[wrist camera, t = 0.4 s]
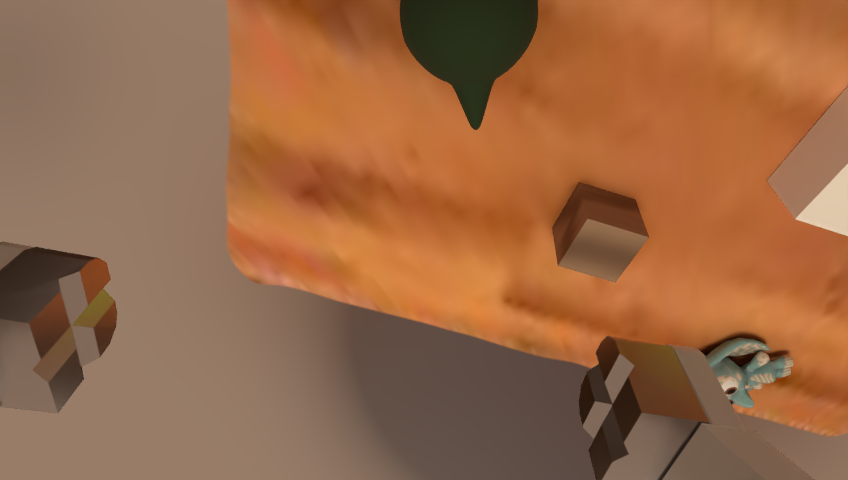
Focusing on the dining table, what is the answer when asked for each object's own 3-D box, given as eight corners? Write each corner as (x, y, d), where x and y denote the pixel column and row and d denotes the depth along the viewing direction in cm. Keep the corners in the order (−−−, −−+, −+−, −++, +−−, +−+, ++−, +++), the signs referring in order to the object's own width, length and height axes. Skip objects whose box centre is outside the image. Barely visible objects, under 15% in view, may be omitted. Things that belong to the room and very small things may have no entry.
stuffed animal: (804, 420, 64) (703, 441, 65) (767, 372, 70) (675, 392, 70) (825, 363, 57) (712, 387, 58) (783, 315, 63) (681, 338, 64)
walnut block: (578, 181, 52) (587, 218, 48) (634, 199, 53) (649, 237, 48) (552, 227, 56) (557, 265, 51) (605, 243, 57) (615, 282, 52)
